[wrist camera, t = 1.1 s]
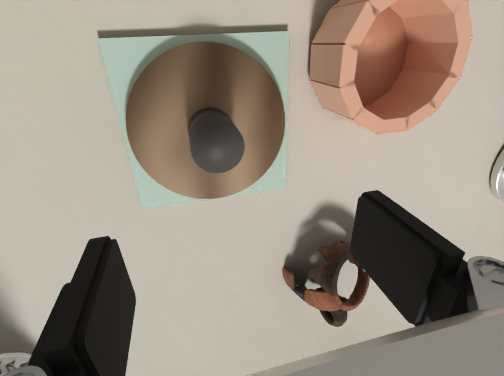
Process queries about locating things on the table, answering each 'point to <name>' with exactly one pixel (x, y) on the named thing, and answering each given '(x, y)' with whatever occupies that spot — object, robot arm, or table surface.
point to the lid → (205, 120)
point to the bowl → (389, 60)
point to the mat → (148, 48)
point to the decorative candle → (13, 361)
